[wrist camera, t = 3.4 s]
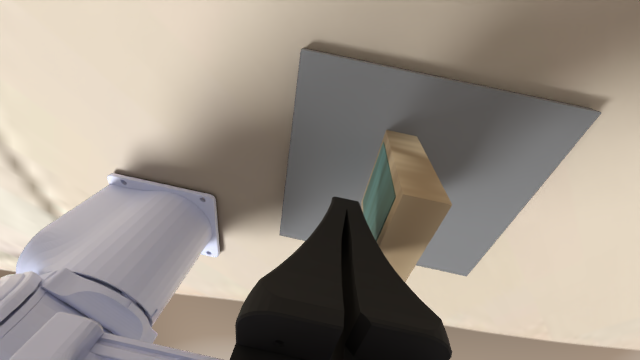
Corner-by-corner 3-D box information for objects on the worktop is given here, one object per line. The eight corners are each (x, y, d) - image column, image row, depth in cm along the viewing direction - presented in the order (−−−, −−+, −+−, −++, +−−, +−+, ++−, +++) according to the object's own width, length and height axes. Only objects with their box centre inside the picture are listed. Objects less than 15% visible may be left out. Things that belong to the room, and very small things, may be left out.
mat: (281, 228, 23) (279, 235, 22) (303, 48, 15) (301, 49, 14) (463, 268, 23) (466, 276, 22) (590, 108, 14) (601, 112, 14)
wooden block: (360, 202, 19) (362, 282, 13) (385, 129, 16) (401, 194, 10) (386, 207, 19) (399, 290, 13) (417, 136, 16) (452, 204, 10)
